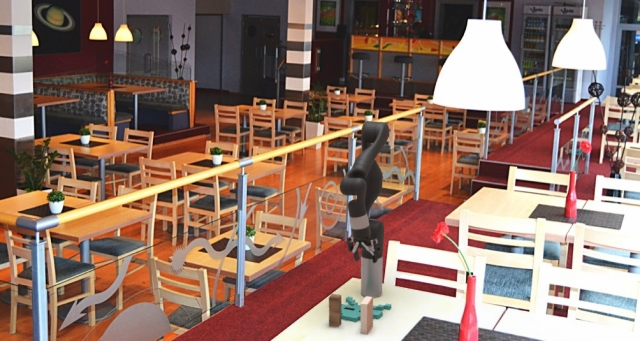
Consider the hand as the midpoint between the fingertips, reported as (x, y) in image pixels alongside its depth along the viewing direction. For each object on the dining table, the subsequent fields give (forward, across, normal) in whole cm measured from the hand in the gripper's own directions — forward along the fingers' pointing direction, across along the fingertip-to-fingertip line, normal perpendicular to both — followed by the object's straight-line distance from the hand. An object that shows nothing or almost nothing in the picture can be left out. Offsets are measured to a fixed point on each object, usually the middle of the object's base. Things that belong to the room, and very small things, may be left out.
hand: (366, 261), depth 336 cm
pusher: (+17, +3, +23) cm, 29 cm away
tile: (+19, -9, +20) cm, 29 cm away
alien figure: (+20, +3, +8) cm, 22 cm away
